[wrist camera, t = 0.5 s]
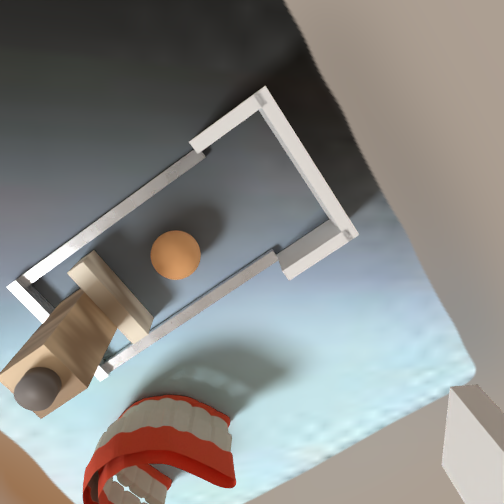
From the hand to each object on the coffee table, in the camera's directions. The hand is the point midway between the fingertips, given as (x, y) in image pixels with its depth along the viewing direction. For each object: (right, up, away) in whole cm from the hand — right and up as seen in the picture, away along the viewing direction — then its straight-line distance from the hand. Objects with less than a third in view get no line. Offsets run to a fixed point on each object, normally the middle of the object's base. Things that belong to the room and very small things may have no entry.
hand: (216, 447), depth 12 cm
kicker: (-13, 0, +26) cm, 29 cm away
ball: (-5, +5, +23) cm, 24 cm away
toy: (-8, -12, +31) cm, 34 cm away
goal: (+2, +11, +23) cm, 26 cm away
